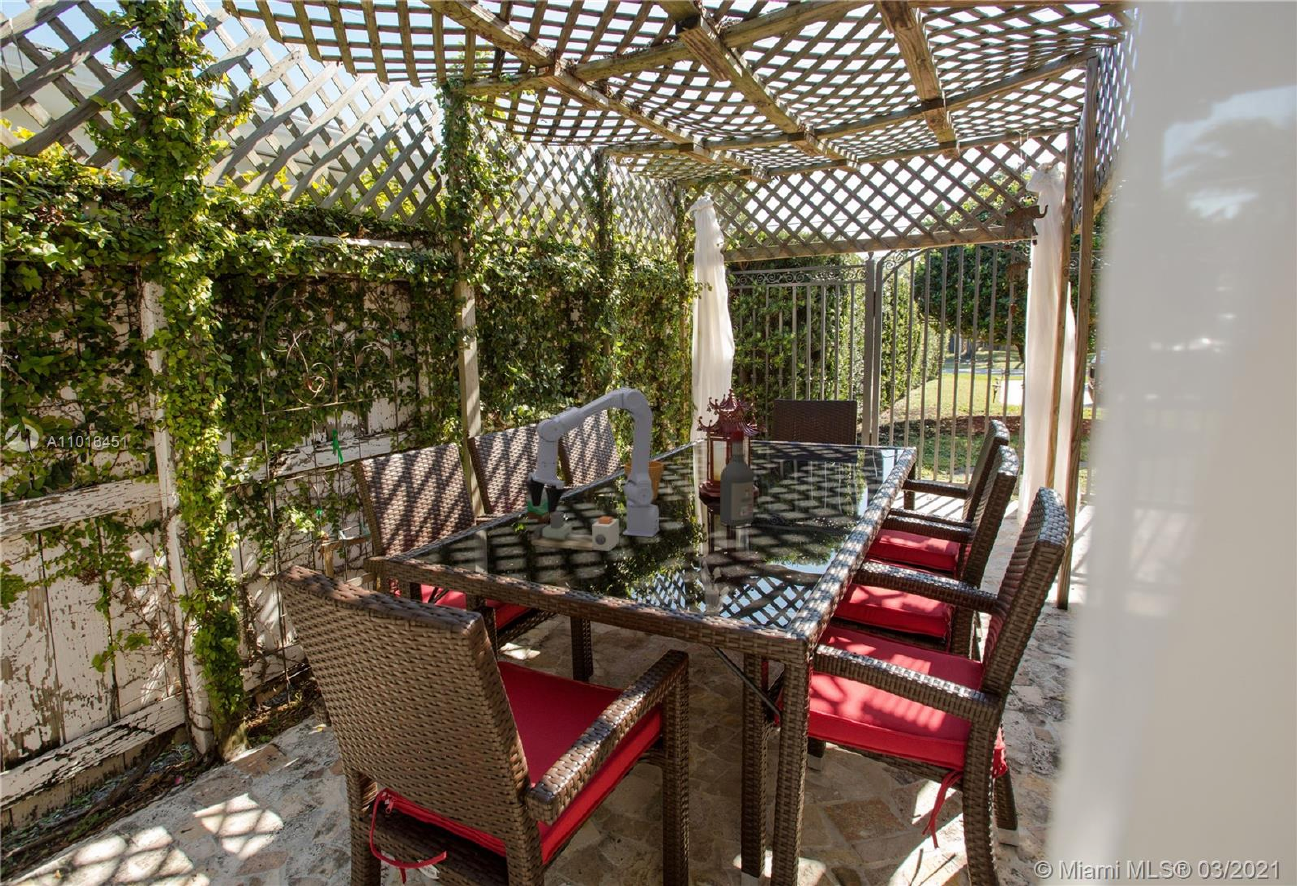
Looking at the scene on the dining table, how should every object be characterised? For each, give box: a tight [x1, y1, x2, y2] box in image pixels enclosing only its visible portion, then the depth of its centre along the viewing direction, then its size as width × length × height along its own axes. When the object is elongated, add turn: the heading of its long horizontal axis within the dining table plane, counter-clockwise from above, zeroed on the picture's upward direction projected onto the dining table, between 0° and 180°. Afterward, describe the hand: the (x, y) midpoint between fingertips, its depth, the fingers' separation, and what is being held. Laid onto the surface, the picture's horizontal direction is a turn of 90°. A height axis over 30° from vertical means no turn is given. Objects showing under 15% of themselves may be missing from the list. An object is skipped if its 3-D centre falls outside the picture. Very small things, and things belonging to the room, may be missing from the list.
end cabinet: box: [591, 518, 620, 552], centre depth 189 cm, size 5×8×7 cm, turn 163°
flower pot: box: [624, 460, 665, 501], centre depth 244 cm, size 14×14×13 cm
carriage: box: [543, 510, 573, 539], centre depth 194 cm, size 6×7×7 cm
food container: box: [525, 486, 550, 524], centre depth 216 cm, size 12×6×10 cm, turn 168°
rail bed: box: [530, 523, 593, 551], centre depth 193 cm, size 19×10×4 cm, turn 73°
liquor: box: [719, 429, 755, 526], centre depth 209 cm, size 9×9×30 cm
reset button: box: [598, 515, 613, 524], centre depth 189 cm, size 3×3×2 cm
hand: (544, 508), depth 191 cm, fingers open, 7 cm apart
